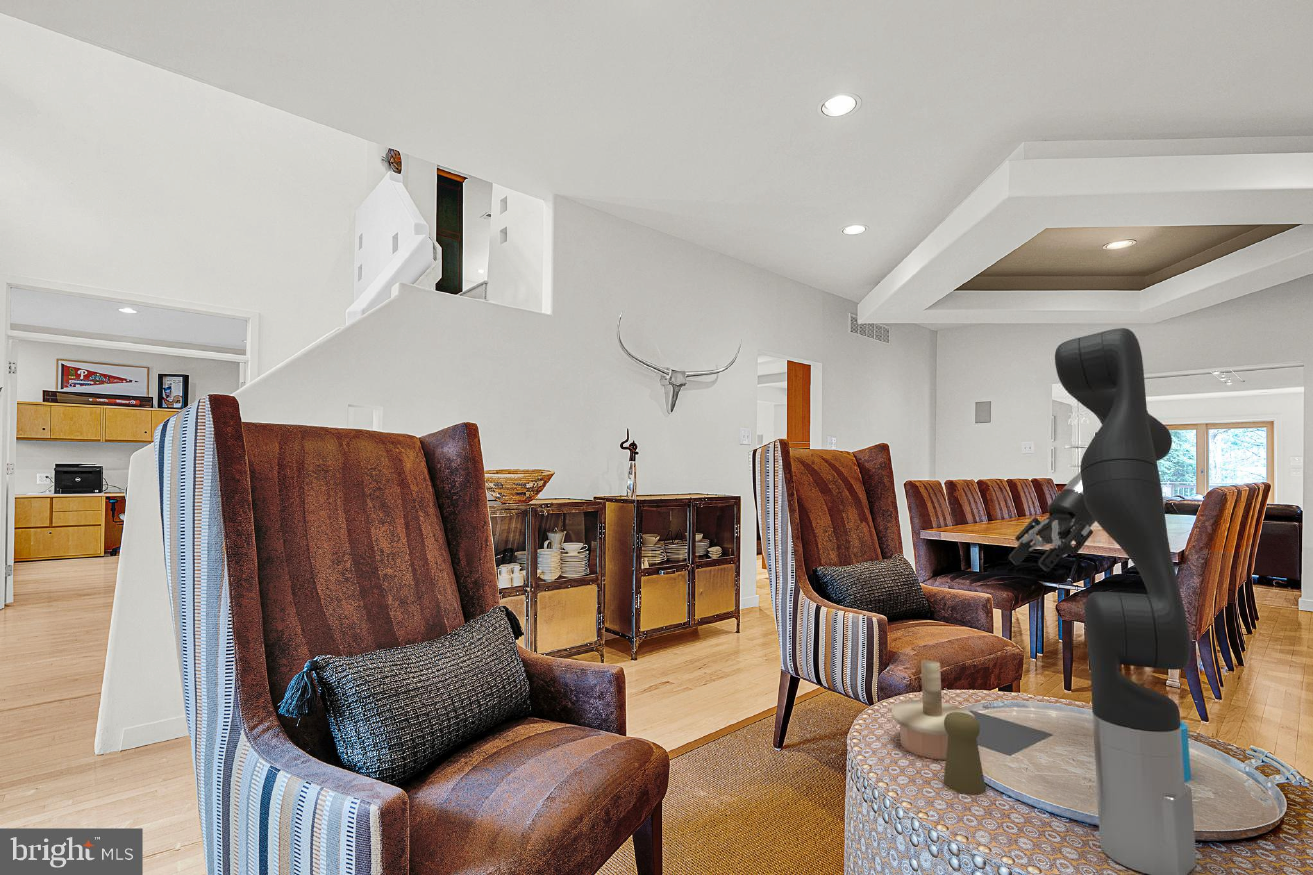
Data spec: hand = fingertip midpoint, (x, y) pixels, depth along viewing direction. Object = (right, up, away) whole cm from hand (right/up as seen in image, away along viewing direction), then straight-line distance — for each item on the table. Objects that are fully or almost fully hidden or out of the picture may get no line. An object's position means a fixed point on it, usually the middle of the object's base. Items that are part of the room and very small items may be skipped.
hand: (1027, 564), depth 119 cm
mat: (-5, -33, +4) cm, 34 cm away
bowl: (-18, -33, -3) cm, 38 cm away
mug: (+13, -32, -12) cm, 36 cm away
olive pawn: (-20, -32, -17) cm, 41 cm away
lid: (-18, -28, -2) cm, 33 cm away
